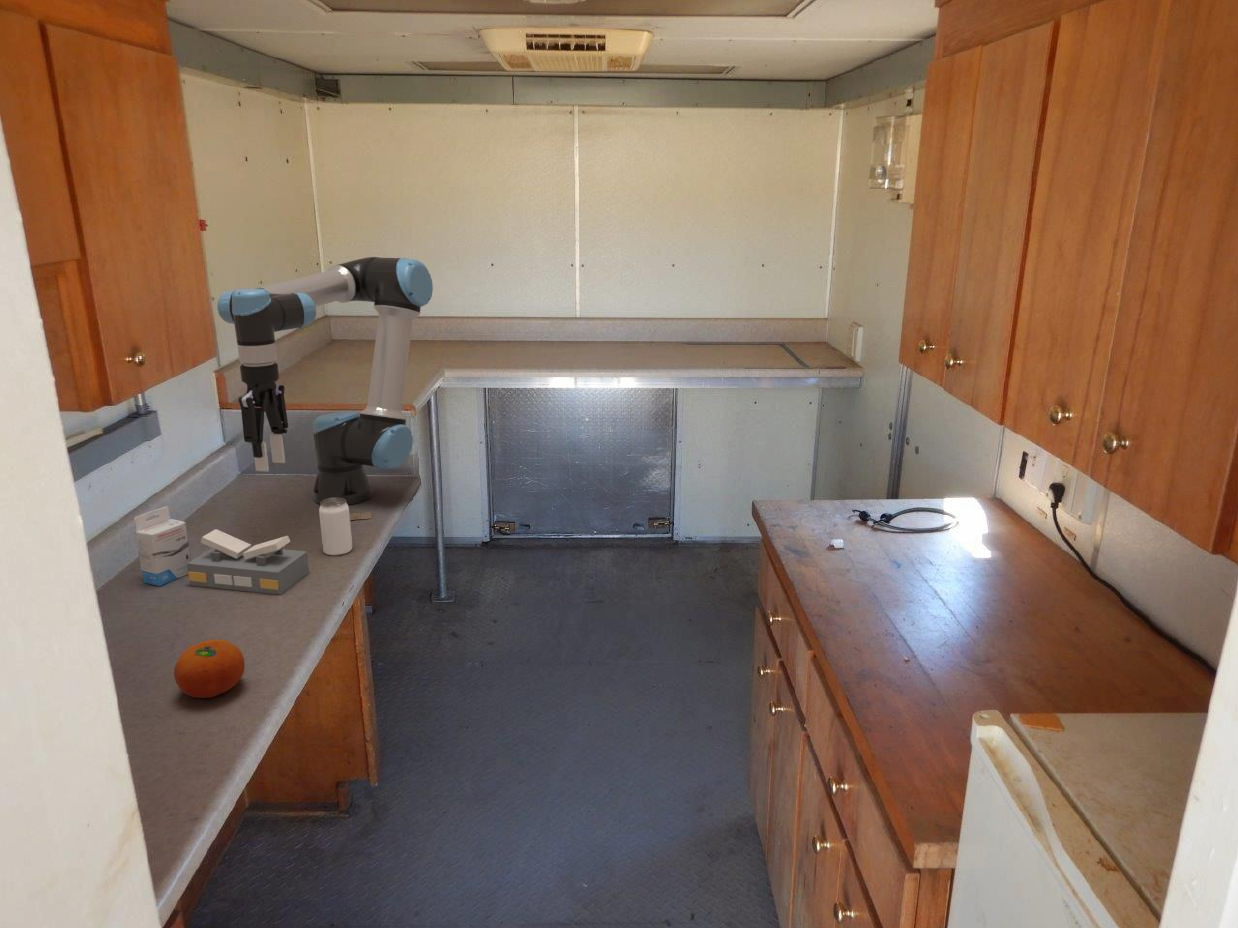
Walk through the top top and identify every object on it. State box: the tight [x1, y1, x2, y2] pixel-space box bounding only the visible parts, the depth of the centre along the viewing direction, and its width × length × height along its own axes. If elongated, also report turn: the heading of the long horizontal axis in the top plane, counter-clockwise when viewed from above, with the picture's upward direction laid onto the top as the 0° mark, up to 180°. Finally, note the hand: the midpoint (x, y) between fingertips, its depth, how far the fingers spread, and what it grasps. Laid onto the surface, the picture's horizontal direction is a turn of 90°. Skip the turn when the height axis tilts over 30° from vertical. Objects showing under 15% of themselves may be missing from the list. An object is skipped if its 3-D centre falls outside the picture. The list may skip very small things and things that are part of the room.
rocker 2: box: [242, 535, 291, 559], centre depth 183 cm, size 5×8×2 cm, turn 78°
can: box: [318, 498, 353, 557], centre depth 199 cm, size 6×6×12 cm
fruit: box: [173, 638, 246, 699], centre depth 144 cm, size 11×10×8 cm
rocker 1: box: [200, 528, 252, 559], centre depth 185 cm, size 5×8×2 cm, turn 78°
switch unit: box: [187, 545, 310, 596], centre depth 185 cm, size 11×21×7 cm, turn 78°
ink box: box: [133, 505, 192, 587], centre depth 185 cm, size 9×5×15 cm, turn 154°
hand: (270, 466), depth 193 cm, fingers open, 6 cm apart
